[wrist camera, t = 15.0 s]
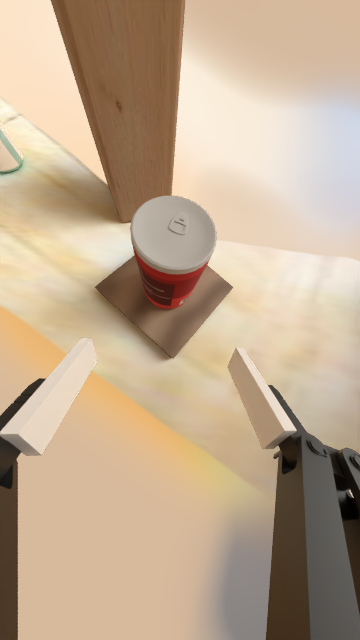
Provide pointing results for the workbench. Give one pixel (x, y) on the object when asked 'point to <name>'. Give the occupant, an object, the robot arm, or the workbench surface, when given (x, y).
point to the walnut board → (160, 323)
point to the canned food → (171, 248)
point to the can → (9, 152)
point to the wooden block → (128, 89)
